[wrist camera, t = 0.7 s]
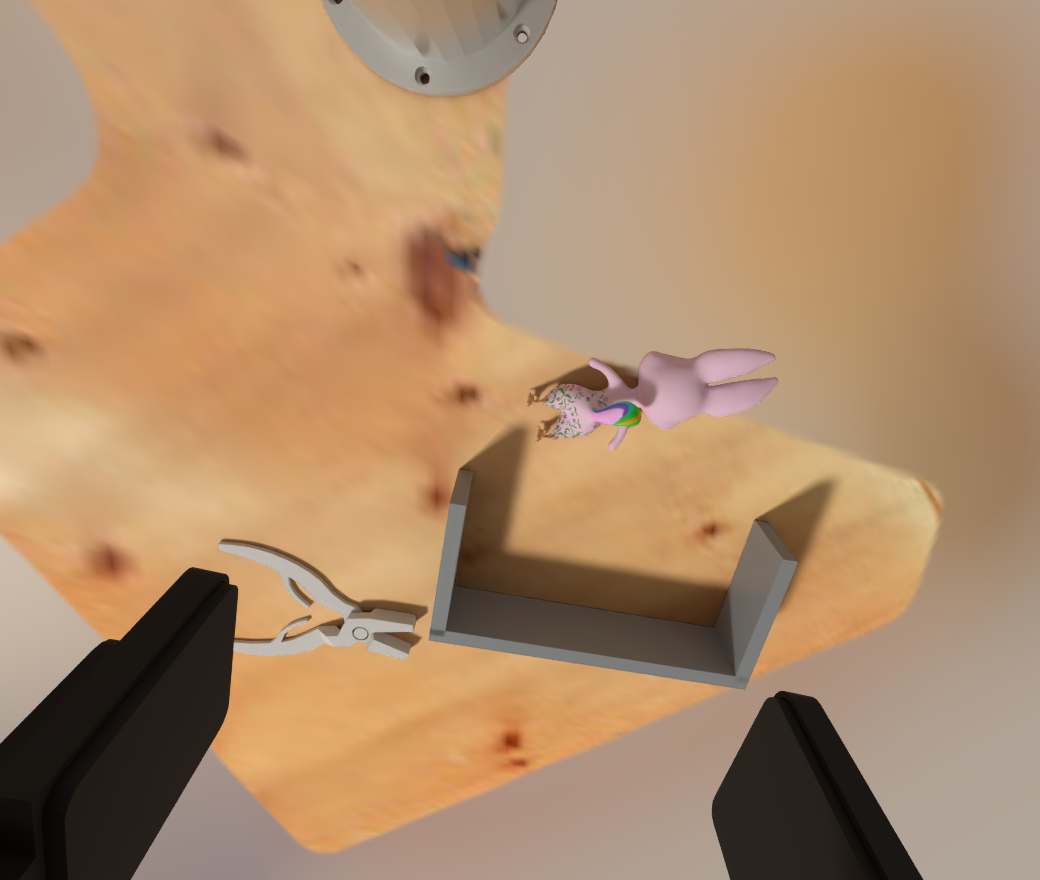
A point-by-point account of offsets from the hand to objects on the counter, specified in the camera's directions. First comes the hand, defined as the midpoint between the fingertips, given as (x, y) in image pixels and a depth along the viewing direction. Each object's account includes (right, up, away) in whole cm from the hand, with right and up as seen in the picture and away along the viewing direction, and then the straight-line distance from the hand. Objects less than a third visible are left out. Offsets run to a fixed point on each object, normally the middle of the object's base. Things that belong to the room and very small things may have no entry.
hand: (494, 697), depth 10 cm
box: (+6, -4, +32) cm, 33 cm away
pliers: (-15, -9, +35) cm, 39 cm away
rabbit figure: (+8, +8, +28) cm, 30 cm away
